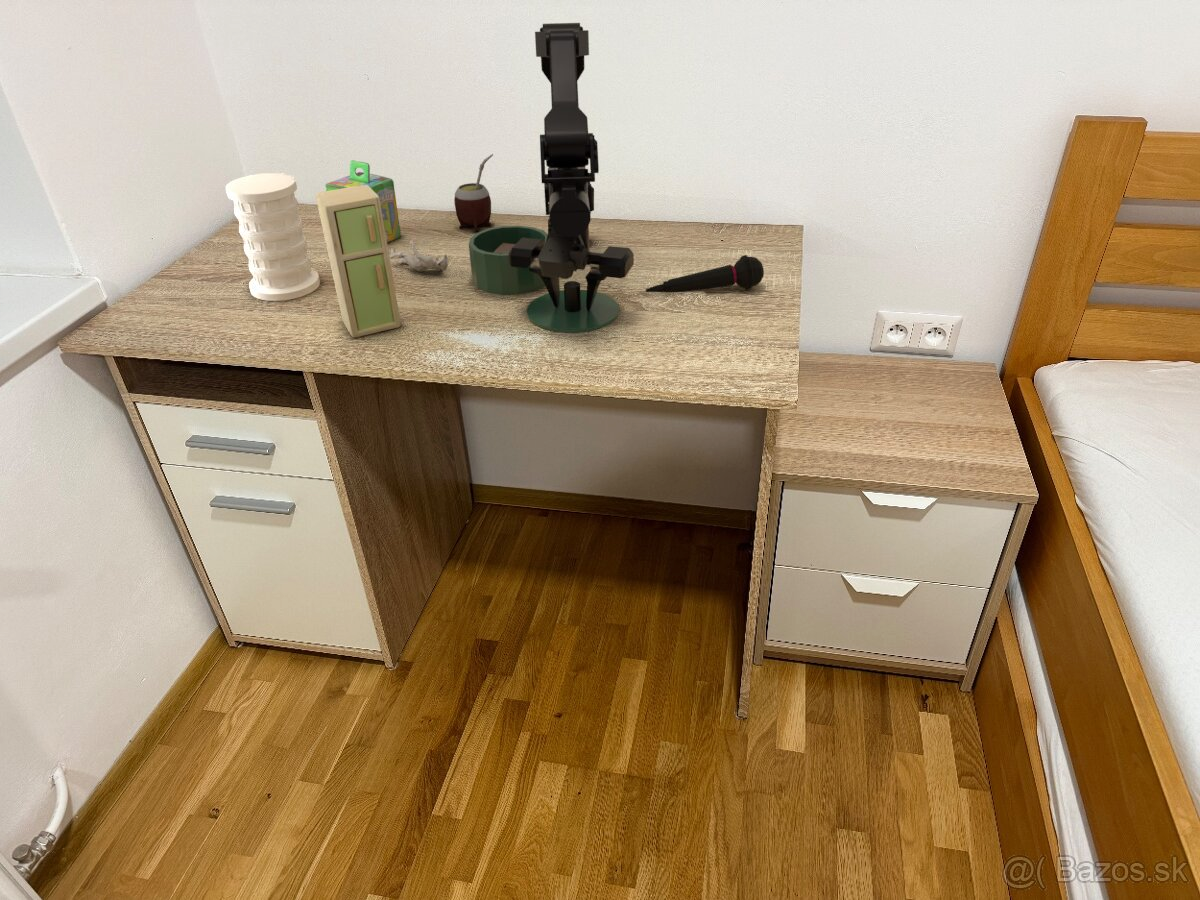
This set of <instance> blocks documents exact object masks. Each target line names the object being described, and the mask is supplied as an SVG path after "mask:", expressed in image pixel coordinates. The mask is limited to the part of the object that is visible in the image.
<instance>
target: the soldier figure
mask: <svg viewBox="0 0 1200 900" xmlns="http://www.w3.org/2000/svg"><path fill="white" fill-rule="evenodd" d="M408 243H409V244H410V246H411V249H412V252H413V253H414V256H413V255H412V254H411V253H410V252H409V251H407V250H403V251H400V252H396V248H394V247H391V249H390V254H389V258H390V260H391V259H394V258H395V259H399V260H398V264H399V265H402V264H408V265H409V266H410V267H411V268H412V269H413V270H415V271H416V272H419V273H420V272H425V271H426V270H435V271H437V272H440V271H441V270H443V271H444V272H446V271H447V269H448V264H449V263H448V261H449V260H448V259H449V258H448V256H447V254H445V255H443V256H441V257H439V258H437V257H436V256H432V255H425V254H421V253H420V252H419V251H418V248H417V247H416V245H415V244H416V243H415V242H414V240H410V241H409V242H408Z"/></svg>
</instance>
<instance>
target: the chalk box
mask: <svg viewBox="0 0 1200 900" xmlns="http://www.w3.org/2000/svg"><path fill="white" fill-rule="evenodd" d="M358 168H359V169H361V170H362V171H363V172H361V171H358V172H357V171H356V170H357V169H358ZM370 170H371V168H370V163H369V162H365V161H358V160H350V164H349V175H347V176H344V177H341V178H338V179H336V180H332V181H330V182H327V183H325V191H331V190H336V189H342V188H348V187H353V186H359V185H368V186H369V187H370V188H371V189H372V190H373V191H374V192H375V193H376V194H377V195H378V196H379V199H380V205H381V211H382V217H383V223H384V228H385V234H386V240H387V244H388V243H391V242H392V241H394V240H397V239H399V238H401V237H402V235H401V228H400V227H401V226H400V219H399V213H398V211H399V210H398V204H397V198H396V191H395V182H394V180H393V179H392V178H390V177H386V176H382V175H377V174H374V173H370V172H371V171H370Z"/></svg>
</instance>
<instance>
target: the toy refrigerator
mask: <svg viewBox="0 0 1200 900" xmlns="http://www.w3.org/2000/svg"><path fill="white" fill-rule="evenodd" d="M315 199H316V205H317V209H318V213H319V219H320V224H321V229H322V233H323V237H324V241H325V246H326V250H327V255H328V260H329V264H330V269H331V274H332V278H333V283H334V287H335V292H336V298H337V301H338V307H339V310H340V315H341V321H342V323H343V324H344V326H345V328H346V329H347V331H348V333H349V334H350V336H351V338H353V339H355V338H361V337H364V336H368V335H372V334H376V333H380V332H384V331H385V332H386V331H389V330H392V329H397V328H400V327H401V326H402V322H401V316H400V310H399V305H398V299H397V293H396V288H395V282H394V281H395V280H394V275H393V270H392V265H391V258H390V253H389V247H388V243H387V240H386V234H385V228H384V223H383V217H382V211H381V205H380V199H379V196H378V195H377V194H376V193H375V192H374V191H373V190H372V189H371V188H370V187H369V186H368V185H359V186H353V187H348V188H342V189H336V190H331V191H327V190H325V191H319V192H316V193H315Z"/></svg>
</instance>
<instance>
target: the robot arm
mask: <svg viewBox="0 0 1200 900" xmlns="http://www.w3.org/2000/svg"><path fill="white" fill-rule="evenodd" d="M589 34H590V33H589V30H588V29H587V30H586V29H585V30H584V27H583V26H581V22H557V23H555V22H553V23H542V27H540V28H539V31H534V42H535V43H534V44H535V57H536V58H537V57H538V58H540V64H541V65H540V66H541V72H542V73H543V75H544V76H545V77H546V79H547V80H548V82H549V83H550V97H551V98H550V101H551V109H550V110H549V111H548V112H547V114H546V115H545V116H544V117H543V126H544V129H543V130H544V134H539V153H540V172H541V173H540V176H541V177H540V179H541V184H543V189H544V205H545V215H546V216H548V219H547V234H548V235H547V239H546V242H545V243H544V242H543V240H541V239H531V238H521V239H520V240H519V241H518V242H517V243H516V244H515V245H514V246H513V247H512V248H511V249H510V251H509V255H508V256H509V265H510V266H511V267H519V268H528V267H529V266H530V265H531V268H530V269H529V271H530V272H531V273H534V274H536V275H538V276H539V277H540V278H541V279H542V281H543V282H544V284H545V288H546V290H547V294H548V293H549V295H550V297H551V299H552V302H553V304H554V306H555V307H558V306H559V300H560V291H561V289H560V279H561V280H568V279H571V278H572V276H573V275H574V272H577V271H578V270H582V271H584V270H585V269H586V266H589V269H590V270H589V271H588V272H587V274H586V275H585V280H586V290H587V296H586V308H587V311H590V309H591V307H592V304H593V301H594V298H595V296H596V293H597V292H598V290H599V287H600V284H601V282H602V281H605V280H606V279H607V278H613V279H624V278H626V277H627V276H628V274H629V272H630V270H631V269H632V268H633V266H634V264H635V263H634V262H635V261H634V258H635V257H634V256H635V253H634V252H633V250H632V249H631V248H630V247H620V246H613V245H612V246H611V245H608V246H607V248H606V249H604V251H603V252H593V251H590V249H591V247H592V240H591V239H590V224H591V221H592V220H591V219H592V218H591V215H592V214H591V213H592V212H593V211H595V188H594V186H592V184H591V183H595V182H596V174H599V170H600V169H599V167H600V165H599V147H598V146H599V145H598V140H596V138H595V135H594V133H593V132H589V122H588V116H587V115H586V114H585V112H584V111H582V109H580V106H579V91H578V90H579V87H578V86H579V85H578V81H579V79H580V78H581V76H582V75H583V73H584V71H585V56H586V57H587V56H590V47H589V46H590V42H589V40H590V38H589V36H590V35H589ZM589 164H590V165H589ZM588 165H589V166H590V167H589V168H590V169H589V168H587V167H586V166H588ZM546 167H547V173H546ZM589 170H590V172H589Z"/></svg>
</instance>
